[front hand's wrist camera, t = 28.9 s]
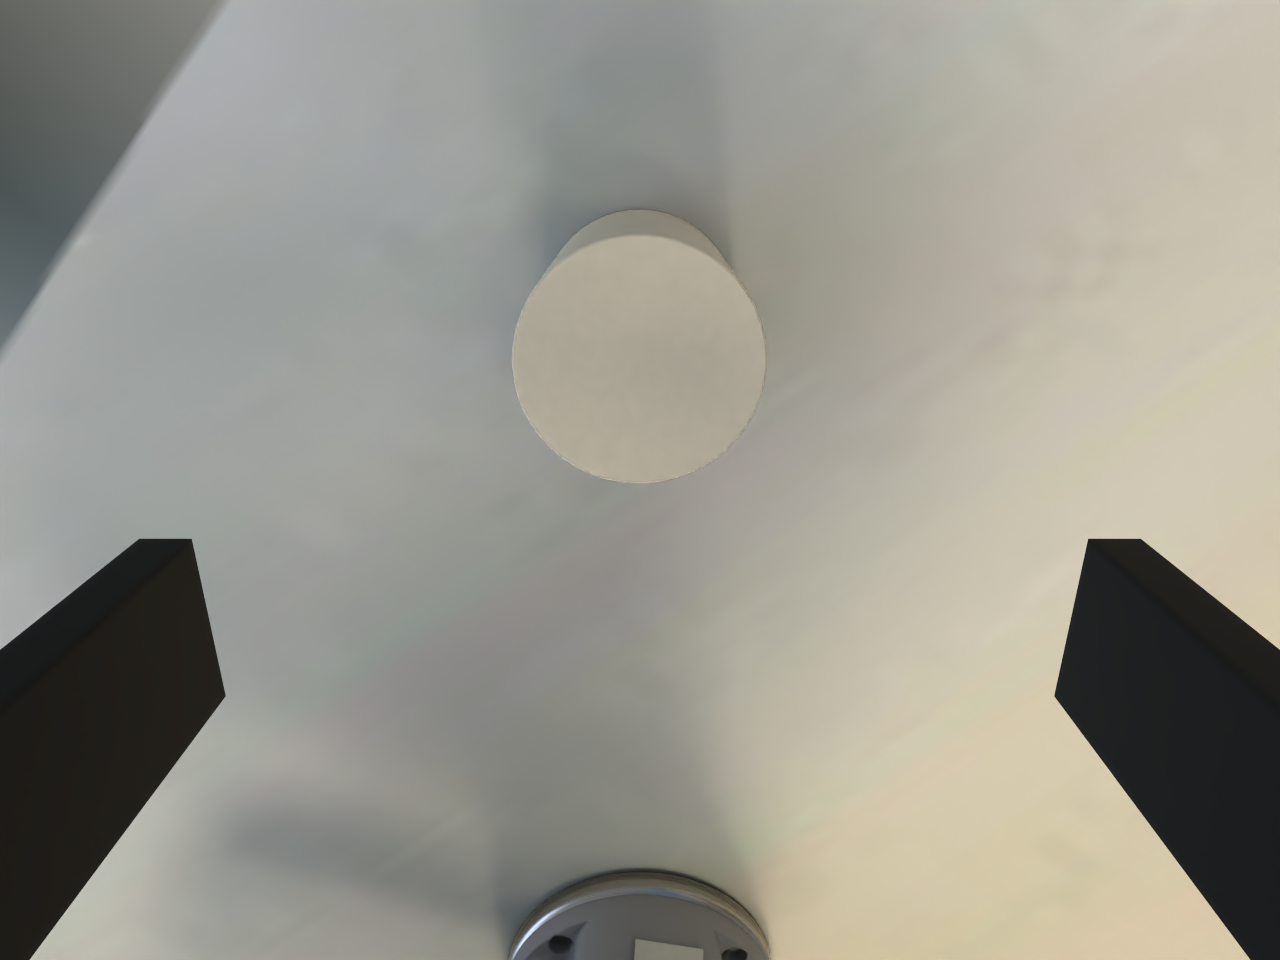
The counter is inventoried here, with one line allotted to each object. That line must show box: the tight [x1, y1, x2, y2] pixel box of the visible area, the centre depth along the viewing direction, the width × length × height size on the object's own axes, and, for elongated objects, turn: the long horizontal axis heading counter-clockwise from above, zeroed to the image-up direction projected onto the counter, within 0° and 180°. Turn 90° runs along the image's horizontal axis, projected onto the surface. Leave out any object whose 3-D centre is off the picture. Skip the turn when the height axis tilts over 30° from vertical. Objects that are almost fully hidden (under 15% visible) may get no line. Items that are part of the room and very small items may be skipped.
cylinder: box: [512, 209, 767, 484], centre depth 31 cm, size 8×8×10 cm
